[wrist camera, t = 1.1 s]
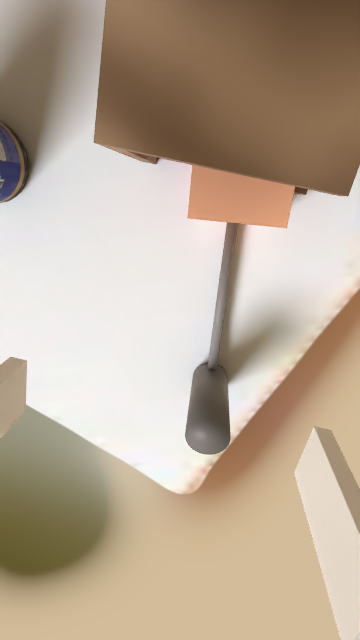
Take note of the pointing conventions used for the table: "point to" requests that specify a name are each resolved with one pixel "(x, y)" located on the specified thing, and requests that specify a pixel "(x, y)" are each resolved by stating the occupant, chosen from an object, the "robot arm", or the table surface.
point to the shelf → (235, 87)
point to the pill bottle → (11, 164)
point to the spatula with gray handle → (225, 286)
